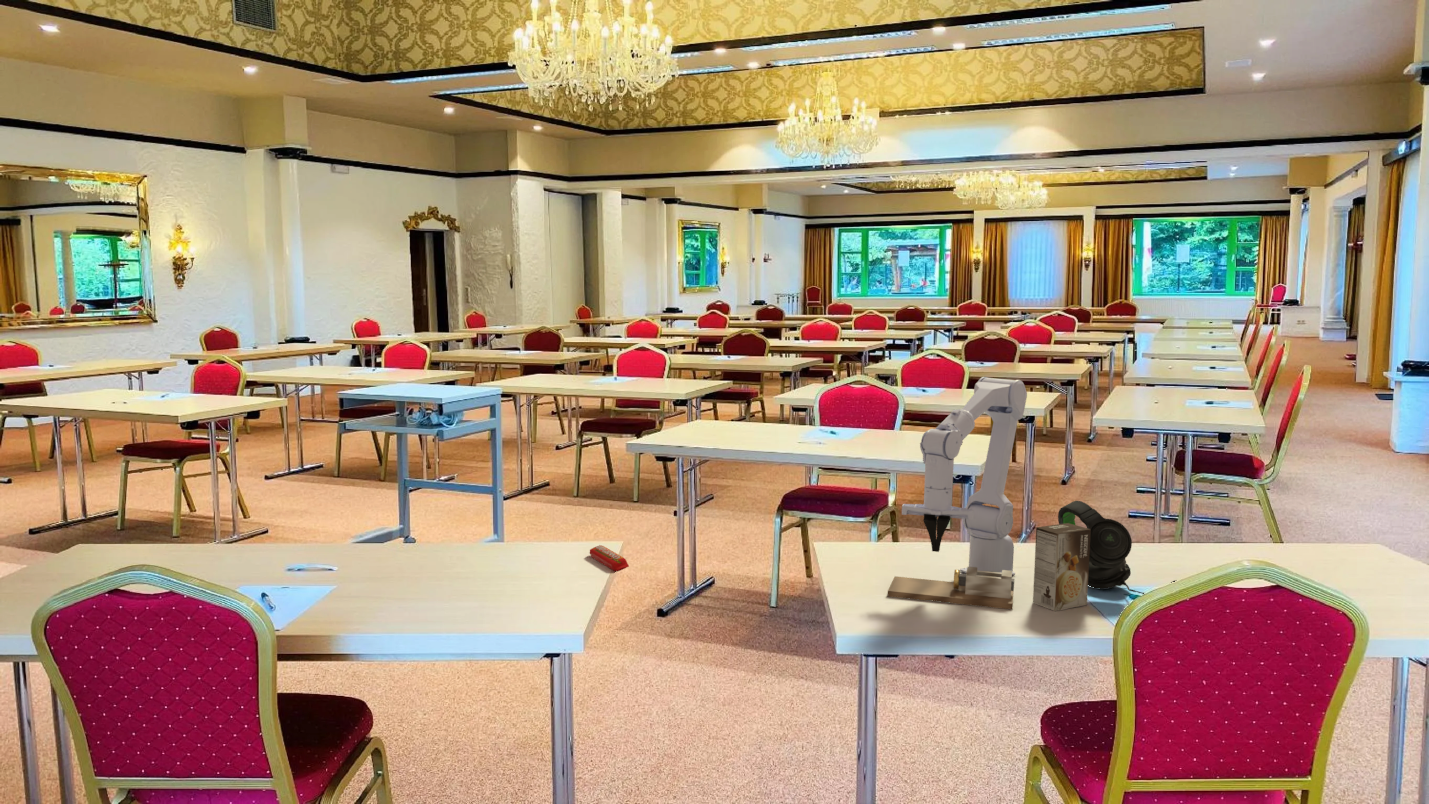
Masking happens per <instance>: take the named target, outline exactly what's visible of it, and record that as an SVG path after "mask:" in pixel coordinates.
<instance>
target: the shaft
mask: <svg viewBox="0 0 1429 804" xmlns="http://www.w3.org/2000/svg"><path fill="white" fill-rule="evenodd" d="M953 573H954V574H953V582H954V589H959V586H966V573H961V571H960V569H957V568H956V569H954V572H953ZM1014 590H1015V578H1012V581H1011V591H1014Z"/></svg>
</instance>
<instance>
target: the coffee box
mask: <svg viewBox="0 0 1429 804" xmlns="http://www.w3.org/2000/svg"><path fill="white" fill-rule="evenodd" d="M1035 529H1036V530H1035V552H1034V567H1033V568H1034V570H1033V571H1034V573H1033V593H1032V594H1033V595H1032V603H1033V604H1036V605H1038V606H1040V607H1044V608H1046V609H1048V610H1052V611H1054V612H1058V611H1063V610H1067V609H1071V608H1078V607H1083V606H1087V605H1088V588H1089V586H1088V573H1089V553H1090V533H1091V529H1088V528H1087V527H1084V526H1080V525H1077V524H1076V525H1073V524H1069V523H1065V524H1059V523H1057V524H1052V525H1044V526H1037V527H1035Z"/></svg>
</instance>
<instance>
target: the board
mask: <svg viewBox="0 0 1429 804" xmlns="http://www.w3.org/2000/svg"><path fill="white" fill-rule="evenodd" d="M966 568H967V572H966V573H965V574H966V586H959V589H954V581H945V580H936V579H926V578H914V577H907V576H905V577H904V576H896V575H894V577H893V579H892V581H891V584H890V586H889V588H888V589H887V597H890V598H891V597H892V598H899V599H907V598H910V599H909V600H917V599H919V600H918V601H926V600H933V601H932V602H936V601H941V602H940V603H945V602H950V603H949V604H955V603H956V604H957V605H966V606H976V607H983V608H984V607H985V608H994V609H995V608H996V609H1005V610H1013V608H1014V607H1013V604H1014V591H1011V581H1012V579H1013V575H1012V571H1009V570H1002V573H1000V572H990V571H979V570H977V567H969V566H967V567H966Z"/></svg>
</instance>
